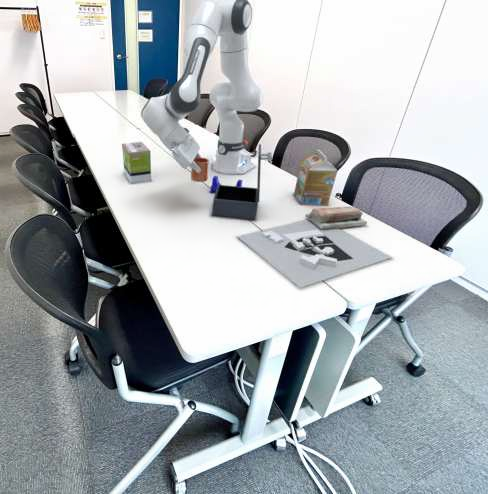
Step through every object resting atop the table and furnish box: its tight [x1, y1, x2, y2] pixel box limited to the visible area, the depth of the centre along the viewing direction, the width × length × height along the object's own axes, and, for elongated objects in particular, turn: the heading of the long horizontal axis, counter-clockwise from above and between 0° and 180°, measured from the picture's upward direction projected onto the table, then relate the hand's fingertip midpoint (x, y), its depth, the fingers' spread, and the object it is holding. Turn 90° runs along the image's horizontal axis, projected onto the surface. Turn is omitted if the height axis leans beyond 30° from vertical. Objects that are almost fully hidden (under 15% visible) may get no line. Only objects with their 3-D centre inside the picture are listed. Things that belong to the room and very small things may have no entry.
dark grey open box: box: [211, 184, 259, 222], centre depth 127 cm, size 16×15×7 cm
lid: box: [256, 143, 273, 203], centre depth 119 cm, size 16×15×5 cm
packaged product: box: [304, 206, 368, 229], centre depth 118 cm, size 18×5×10 cm
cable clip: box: [210, 175, 243, 194], centre depth 141 cm, size 12×4×6 cm, turn 65°
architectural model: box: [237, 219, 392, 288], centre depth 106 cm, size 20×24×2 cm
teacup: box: [190, 157, 210, 183], centre depth 124 cm, size 6×6×7 cm
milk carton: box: [293, 149, 338, 206], centre depth 132 cm, size 11×11×19 cm
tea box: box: [121, 141, 152, 185], centre depth 155 cm, size 15×10×15 cm, turn 18°
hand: (201, 167), depth 124 cm, fingers closed on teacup, 6 cm apart
